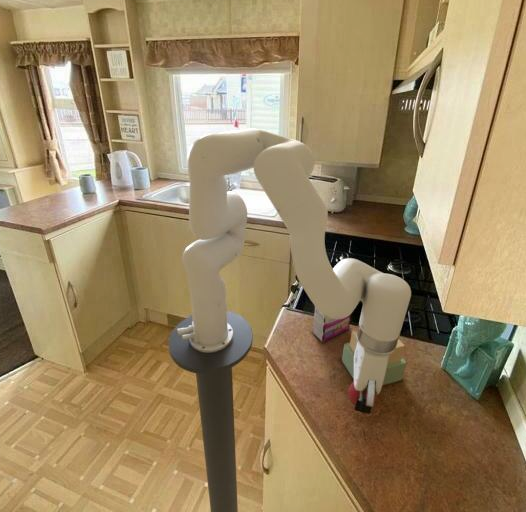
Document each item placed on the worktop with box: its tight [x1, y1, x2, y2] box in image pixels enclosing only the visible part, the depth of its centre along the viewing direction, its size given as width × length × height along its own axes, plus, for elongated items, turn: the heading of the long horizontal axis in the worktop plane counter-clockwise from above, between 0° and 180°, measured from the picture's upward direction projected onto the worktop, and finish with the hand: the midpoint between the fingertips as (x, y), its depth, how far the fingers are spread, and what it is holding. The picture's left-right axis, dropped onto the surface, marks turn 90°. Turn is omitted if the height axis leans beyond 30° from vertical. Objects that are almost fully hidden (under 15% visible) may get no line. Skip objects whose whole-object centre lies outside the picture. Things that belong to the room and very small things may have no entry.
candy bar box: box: [312, 305, 352, 343], centre depth 92 cm, size 11×5×16 cm, turn 123°
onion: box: [348, 381, 377, 407], centre depth 68 cm, size 6×6×8 cm
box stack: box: [341, 329, 408, 386], centre depth 81 cm, size 12×10×11 cm
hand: (361, 396), depth 68 cm, fingers closed on onion, 5 cm apart
